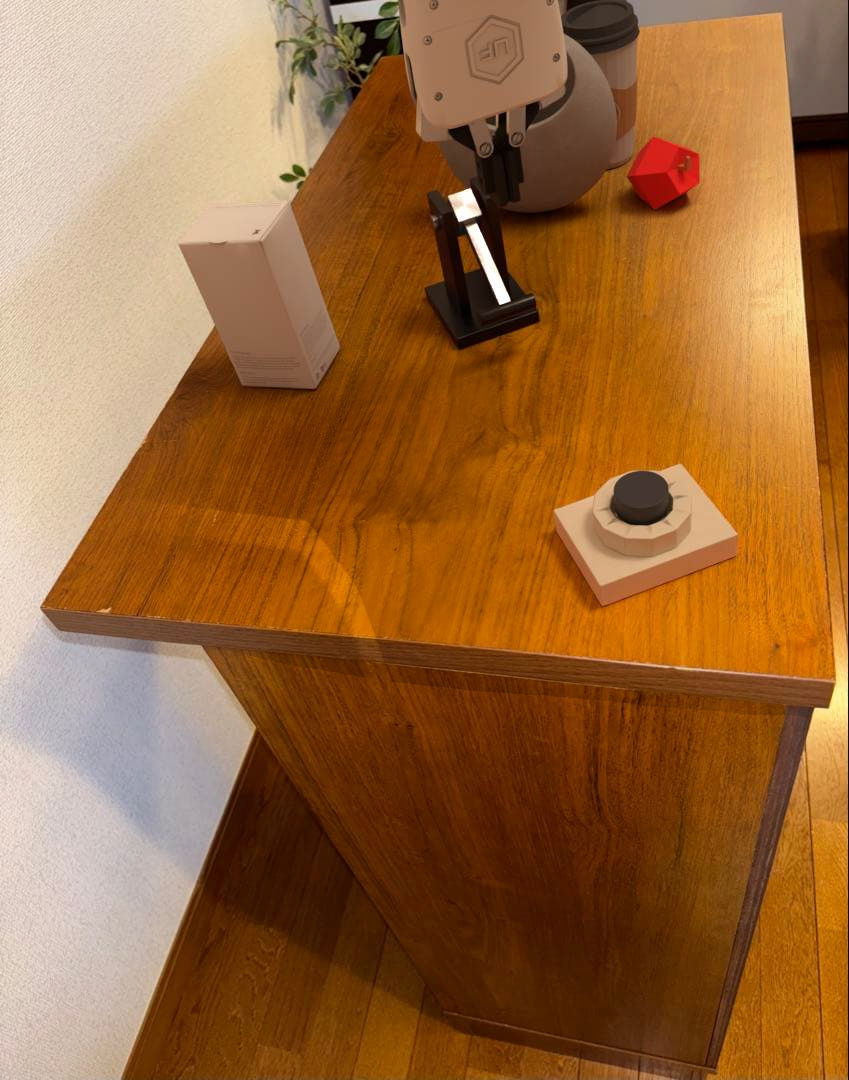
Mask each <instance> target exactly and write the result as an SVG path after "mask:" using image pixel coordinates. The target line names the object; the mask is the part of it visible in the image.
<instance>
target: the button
mask: <svg viewBox="0 0 849 1080" xmlns="http://www.w3.org/2000/svg"><path fill="white" fill-rule="evenodd" d="M650 471H651V470H648V471H635V472H631V473H628V474H626V475H624V476H622V477H621V478H620V479H619V480H618V481H617V482H616V484H615V486H614V504H615V512H616V514H617V516H618V517H619V518H620V519H621V520H622V521H624V522H625V523H628V524H630V525H641V526H647V525H651V524H654V523H657V522H658V521H660V520H661V519H663V518H664V517H665V515H666V514H667V512H668V510H669V487H668V484H667V482H666V480H665V479H664V478H663V477H662V476H660V475H659V474H657V473H654V472H650Z"/></svg>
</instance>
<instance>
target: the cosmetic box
mask: <svg viewBox="0 0 849 1080" xmlns="http://www.w3.org/2000/svg"><path fill="white" fill-rule="evenodd" d="M177 245H178V248H179V249H180V252H181V254H182V256H183V258H184V260H185V262H186V265H187V268H188V269H189V272H190V274H191V276H192V278H193V280H194V282H195V284H196V287H197V289H198V291H199V294H200V296H201V298H202V300H203V302H204V304H205V307H206V310H207V311H208V314H209V315H210V318H211V319H212V322H213V324H214V326H215V328H216V331H217V333H218V335H219V338H220V340H221V343H222V344H223V346H224V349H225V350H226V353H227V355H228V357H229V360H230V362H231V364H232V366H233V369H234V370H235V373H236V375H237V377H238V379H239V381H240V384H241V386H242V387H257V388H258V387H261V388H282V389H302V390H303V389H304V390H316V389H317V388H318V386H319V385H320V383H321V382H322V380H323V378H324V376H325V375H326V373H327V372H328V371H329V368H330V366H331V365H332V363H333V361H334V360H335V358H336V356H337V355H338V353H339V351H340V349H341V345H340V343H339V340H338V336H337V335H336V331H335V327H334V326H333V323H332V319H331V318H330V314H329V311H328V308H327V306H326V303H325V300H324V297H323V294H322V291H321V288H320V285H319V283H318V282H319V281H318V280H317V277H316V274H315V271H314V267H313V266H312V263H311V260H310V257H309V253H308V250H307V248H306V245H305V242H304V240H303V236H302V234H301V231H300V227H299V225H298V223H297V219H296V217H295V213H294V211H293V208H292V205H291V202H290V200H276V201H275V200H274V201H272V200H271V201H253V202H222V203H218V202H217V203H216V202H215V203H210V204H209V205H208V206H207V207H206V208H205V210H204V211H203V212H202V213H201V215H200V216H199V217H198V218H197V220H196V221H195V222H194V224H193V225H192V226H191V227H190V229H188V231H187V232H186V233H185V234H184V235H183V237H182V238H181V239H180V240H179V241H178V243H177Z"/></svg>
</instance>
